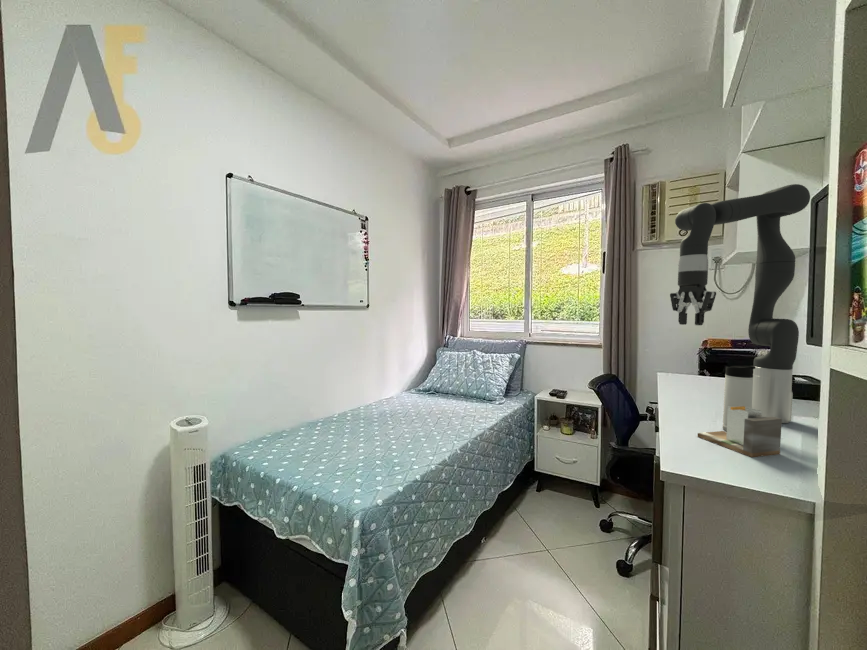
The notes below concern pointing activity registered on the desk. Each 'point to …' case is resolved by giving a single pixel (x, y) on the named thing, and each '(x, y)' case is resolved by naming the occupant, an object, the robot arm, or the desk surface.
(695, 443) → the desk surface
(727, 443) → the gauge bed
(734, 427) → the white card box
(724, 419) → the travel mug
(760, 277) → the robot arm
